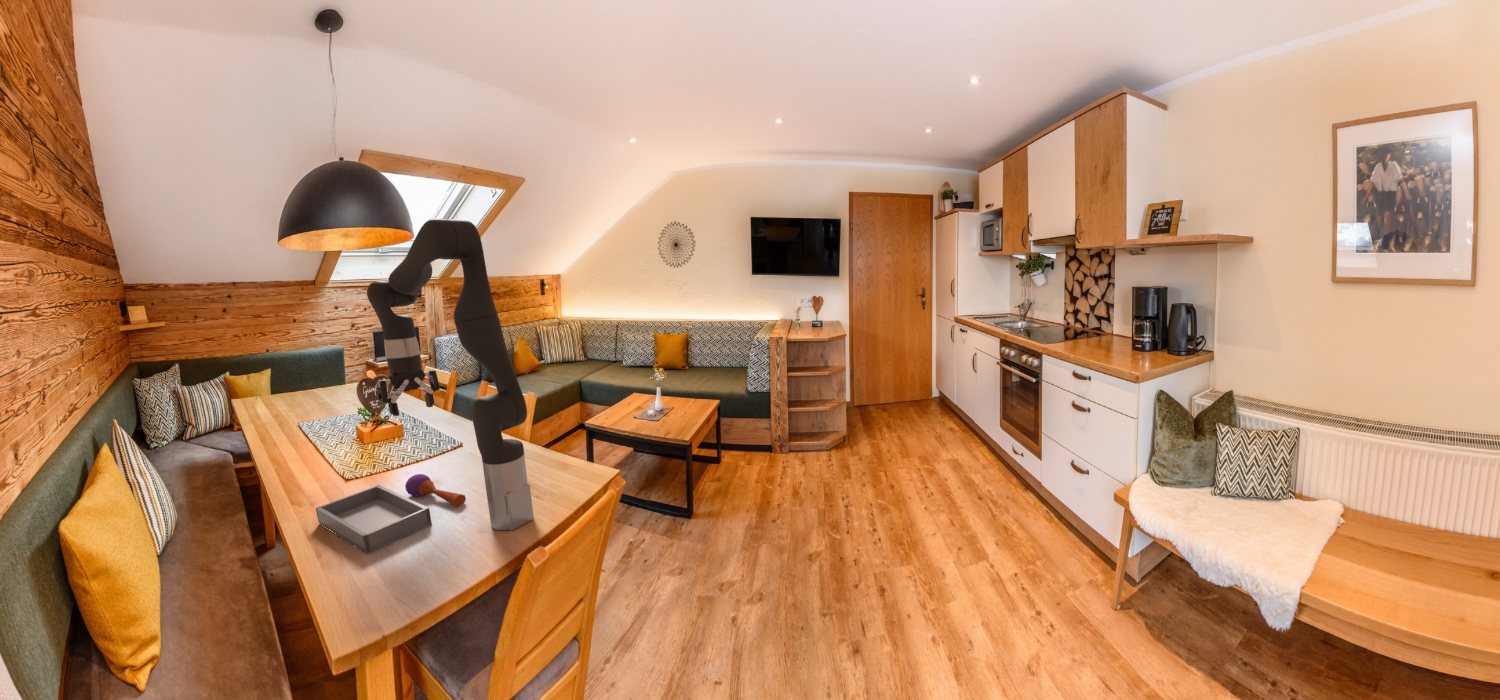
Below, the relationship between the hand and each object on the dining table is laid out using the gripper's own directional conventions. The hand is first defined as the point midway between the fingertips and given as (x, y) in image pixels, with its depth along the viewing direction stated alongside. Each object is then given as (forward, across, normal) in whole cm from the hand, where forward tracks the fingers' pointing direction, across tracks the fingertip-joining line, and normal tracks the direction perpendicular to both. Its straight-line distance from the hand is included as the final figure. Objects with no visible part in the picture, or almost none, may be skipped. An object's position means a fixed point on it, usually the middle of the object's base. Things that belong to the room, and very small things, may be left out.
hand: (413, 411), depth 132 cm
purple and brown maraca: (+24, -2, -8) cm, 26 cm away
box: (+24, -16, -8) cm, 30 cm away
